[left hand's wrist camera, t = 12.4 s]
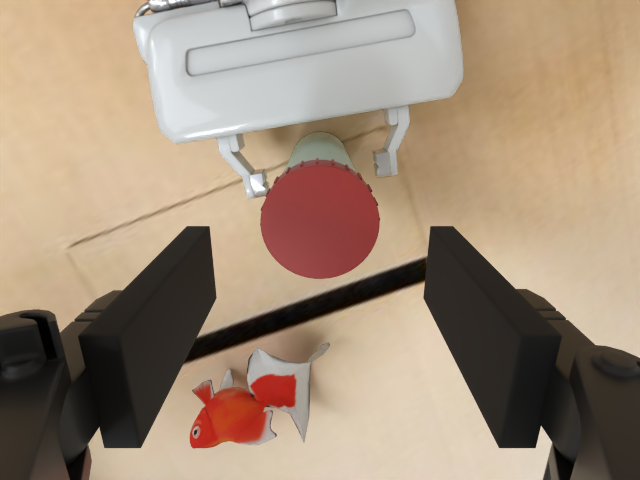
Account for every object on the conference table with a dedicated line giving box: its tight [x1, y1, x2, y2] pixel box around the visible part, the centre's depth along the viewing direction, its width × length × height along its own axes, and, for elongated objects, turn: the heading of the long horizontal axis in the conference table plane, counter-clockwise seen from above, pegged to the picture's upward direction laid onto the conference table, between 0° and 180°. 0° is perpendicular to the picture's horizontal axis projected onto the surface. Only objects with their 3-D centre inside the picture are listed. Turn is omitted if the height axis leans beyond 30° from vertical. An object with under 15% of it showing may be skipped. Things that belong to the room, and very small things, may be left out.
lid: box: [260, 158, 380, 279], centre depth 19 cm, size 6×5×2 cm
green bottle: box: [284, 132, 356, 172], centre depth 27 cm, size 5×5×18 cm
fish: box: [190, 342, 330, 448], centre depth 39 cm, size 11×16×10 cm
